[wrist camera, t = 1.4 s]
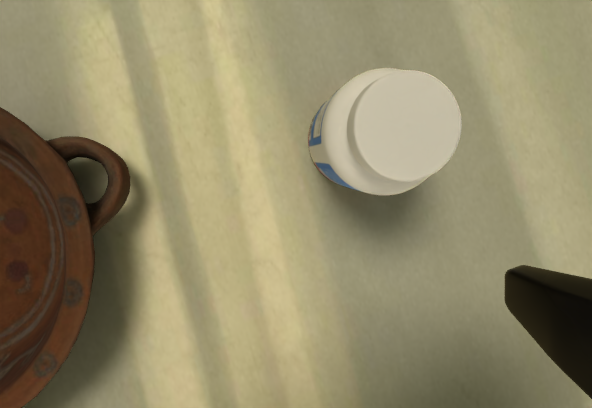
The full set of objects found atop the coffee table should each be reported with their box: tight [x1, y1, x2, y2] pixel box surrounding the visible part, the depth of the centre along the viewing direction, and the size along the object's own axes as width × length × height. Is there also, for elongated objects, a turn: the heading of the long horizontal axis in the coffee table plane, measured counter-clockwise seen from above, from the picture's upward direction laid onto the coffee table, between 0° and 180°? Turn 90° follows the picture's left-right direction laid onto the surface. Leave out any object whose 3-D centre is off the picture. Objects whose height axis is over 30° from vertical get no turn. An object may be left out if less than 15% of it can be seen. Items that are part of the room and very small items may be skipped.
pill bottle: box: [308, 68, 462, 195], centre depth 20 cm, size 6×5×10 cm
